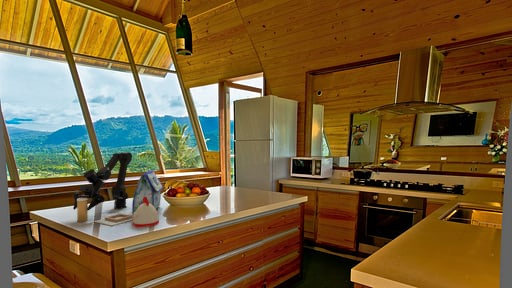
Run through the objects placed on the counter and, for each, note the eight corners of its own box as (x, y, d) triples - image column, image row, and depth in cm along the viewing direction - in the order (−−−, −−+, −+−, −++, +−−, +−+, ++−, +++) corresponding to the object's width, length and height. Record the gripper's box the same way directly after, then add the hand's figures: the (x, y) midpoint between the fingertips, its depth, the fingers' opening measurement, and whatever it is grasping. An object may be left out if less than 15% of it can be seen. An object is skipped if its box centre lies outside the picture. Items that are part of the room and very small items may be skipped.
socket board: (124, 214, 181) (124, 211, 181) (142, 217, 174) (142, 214, 174) (94, 222, 163) (94, 218, 163) (112, 226, 156) (112, 222, 156)
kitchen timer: (153, 218, 171) (153, 194, 171) (162, 223, 161) (162, 197, 161) (129, 223, 162) (129, 196, 162) (137, 228, 152) (137, 200, 152)
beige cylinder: (85, 218, 171) (85, 197, 170) (89, 220, 167) (89, 198, 167) (75, 220, 166) (75, 198, 166) (79, 222, 163) (79, 199, 163)
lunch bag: (158, 214, 183) (158, 173, 182) (130, 214, 180) (130, 173, 180) (163, 206, 205) (163, 169, 204) (139, 206, 202) (139, 170, 202)
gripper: (74, 179, 172) (58, 201, 161) (101, 180, 169) (87, 202, 158) (84, 190, 180) (70, 211, 169) (110, 191, 176) (97, 213, 166)
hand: (80, 209), depth 165 cm, fingers open, 9 cm apart
